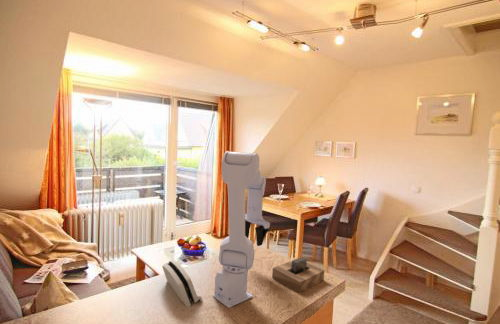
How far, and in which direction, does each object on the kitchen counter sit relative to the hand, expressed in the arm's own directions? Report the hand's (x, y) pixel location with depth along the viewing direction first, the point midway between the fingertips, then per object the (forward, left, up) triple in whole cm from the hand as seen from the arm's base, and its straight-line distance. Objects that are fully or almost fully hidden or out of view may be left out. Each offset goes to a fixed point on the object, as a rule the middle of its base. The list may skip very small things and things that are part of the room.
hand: (252, 242), depth 105 cm
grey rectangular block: (+7, -17, -10) cm, 21 cm away
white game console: (-30, 0, -10) cm, 32 cm away
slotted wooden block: (+7, -17, -9) cm, 21 cm away
